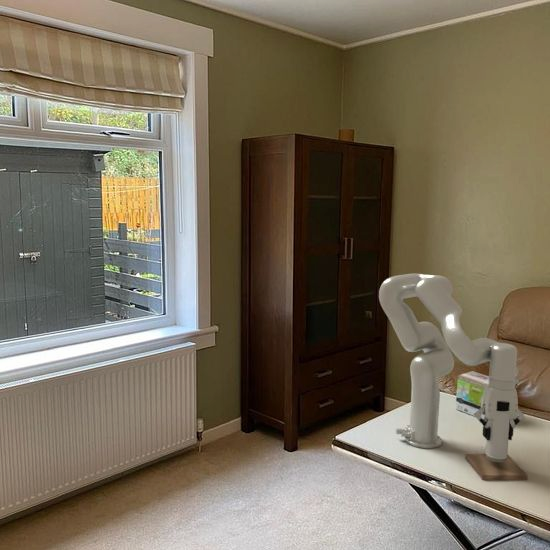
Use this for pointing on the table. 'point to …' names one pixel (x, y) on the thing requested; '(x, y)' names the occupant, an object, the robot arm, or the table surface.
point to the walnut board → (495, 468)
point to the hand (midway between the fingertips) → (497, 437)
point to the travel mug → (499, 434)
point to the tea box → (470, 392)
